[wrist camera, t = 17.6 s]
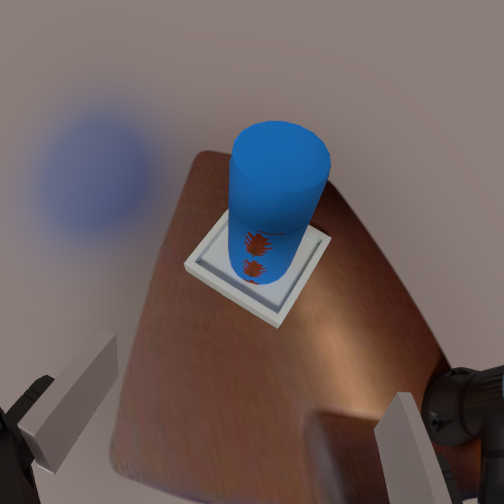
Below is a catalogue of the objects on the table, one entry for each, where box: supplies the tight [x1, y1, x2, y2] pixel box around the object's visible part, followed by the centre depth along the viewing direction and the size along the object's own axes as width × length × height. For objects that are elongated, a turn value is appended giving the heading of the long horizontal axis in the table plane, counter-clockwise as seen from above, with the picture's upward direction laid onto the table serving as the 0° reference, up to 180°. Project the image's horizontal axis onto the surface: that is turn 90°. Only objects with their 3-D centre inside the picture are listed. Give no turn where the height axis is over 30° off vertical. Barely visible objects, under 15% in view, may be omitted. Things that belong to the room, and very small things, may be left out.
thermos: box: [228, 121, 331, 285], centre depth 43 cm, size 11×11×25 cm
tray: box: [184, 208, 331, 329], centre depth 54 cm, size 18×18×3 cm
